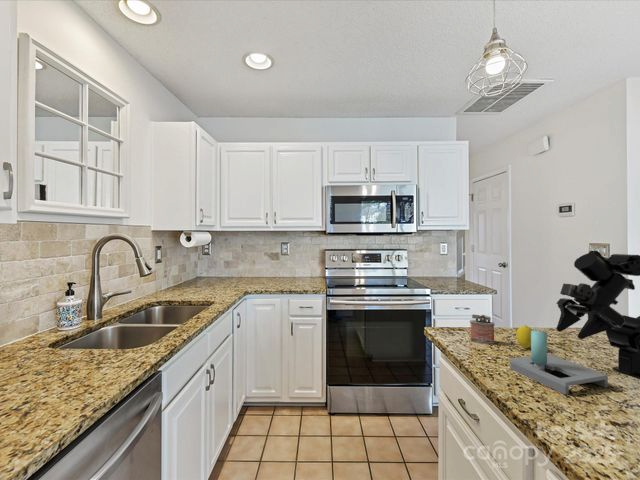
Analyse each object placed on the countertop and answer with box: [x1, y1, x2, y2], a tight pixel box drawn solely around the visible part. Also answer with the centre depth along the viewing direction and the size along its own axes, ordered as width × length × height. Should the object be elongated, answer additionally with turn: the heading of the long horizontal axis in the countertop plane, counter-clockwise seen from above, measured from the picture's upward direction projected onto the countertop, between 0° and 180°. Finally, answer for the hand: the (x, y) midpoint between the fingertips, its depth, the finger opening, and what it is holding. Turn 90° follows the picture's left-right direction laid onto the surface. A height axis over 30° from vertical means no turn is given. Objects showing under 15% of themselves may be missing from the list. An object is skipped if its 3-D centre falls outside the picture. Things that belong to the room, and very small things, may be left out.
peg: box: [530, 329, 550, 374], centre depth 87 cm, size 4×4×12 cm
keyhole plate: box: [509, 352, 609, 396], centre depth 86 cm, size 14×16×3 cm
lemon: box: [515, 324, 533, 349], centre depth 108 cm, size 6×6×8 cm
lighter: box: [469, 314, 496, 345], centre depth 115 cm, size 8×3×10 cm, turn 58°
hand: (567, 334), depth 88 cm, fingers open, 9 cm apart
